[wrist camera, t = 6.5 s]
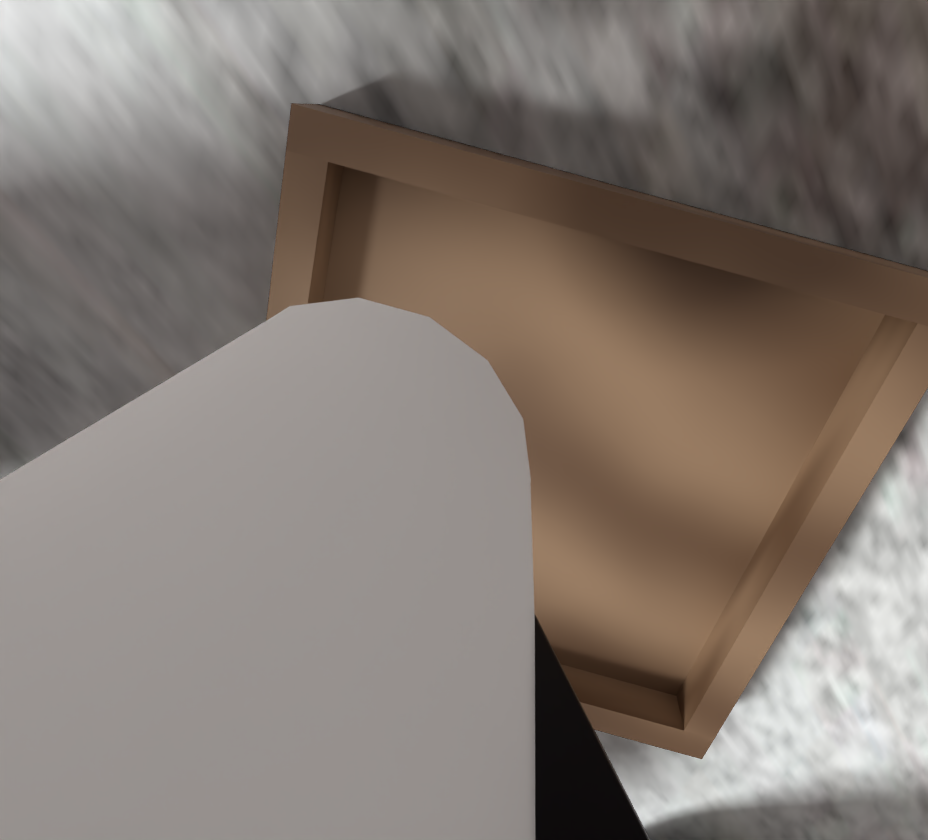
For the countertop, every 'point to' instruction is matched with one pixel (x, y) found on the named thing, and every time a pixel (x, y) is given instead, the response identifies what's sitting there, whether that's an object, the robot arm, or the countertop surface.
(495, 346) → the walnut tray
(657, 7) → the countertop surface
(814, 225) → the countertop surface
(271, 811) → the white cylinder
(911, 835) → the countertop surface
